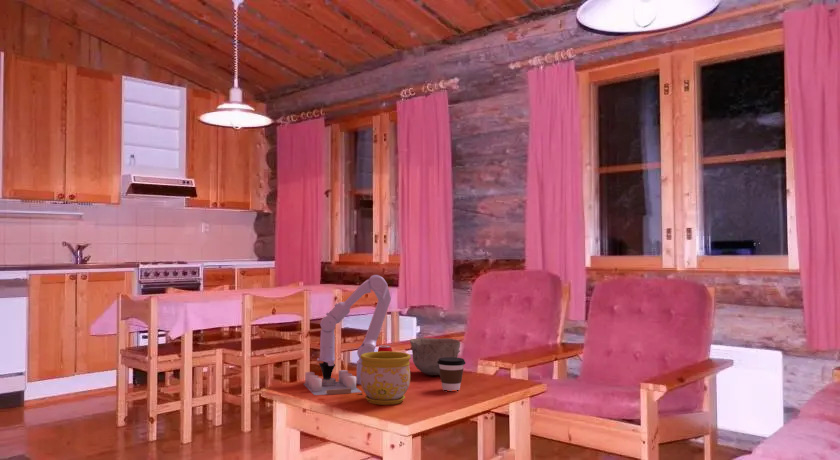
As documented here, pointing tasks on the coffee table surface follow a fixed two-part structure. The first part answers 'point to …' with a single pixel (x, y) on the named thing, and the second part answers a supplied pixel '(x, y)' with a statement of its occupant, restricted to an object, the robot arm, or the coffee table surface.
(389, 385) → the flowerpot
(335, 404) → the coffee table surface
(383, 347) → the beverage can
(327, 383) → the hexagonal block with ball
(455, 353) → the bowl
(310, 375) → the spacer board
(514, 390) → the coffee table surface
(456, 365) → the coffee cup
